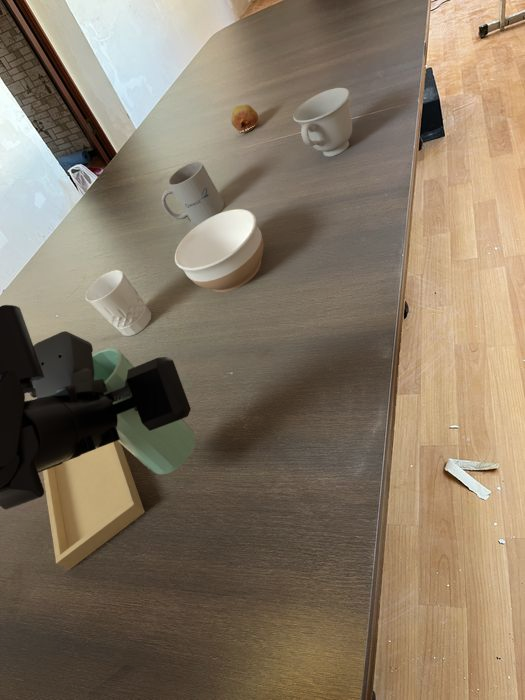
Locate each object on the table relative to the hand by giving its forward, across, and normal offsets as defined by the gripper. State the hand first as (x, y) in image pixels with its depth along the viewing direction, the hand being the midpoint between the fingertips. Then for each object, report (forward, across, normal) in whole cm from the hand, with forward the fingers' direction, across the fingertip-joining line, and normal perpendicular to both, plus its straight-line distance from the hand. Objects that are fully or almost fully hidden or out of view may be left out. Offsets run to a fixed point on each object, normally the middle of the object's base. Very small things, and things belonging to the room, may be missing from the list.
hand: (136, 406), depth 57 cm
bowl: (+36, -8, -18) cm, 41 cm away
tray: (+13, +18, +5) cm, 22 cm away
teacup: (+55, -34, -38) cm, 74 cm away
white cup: (+34, +12, -16) cm, 39 cm away
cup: (+4, 0, +6) cm, 8 cm away
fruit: (+80, -16, -63) cm, 103 cm away
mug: (+56, -1, -38) cm, 67 cm away
